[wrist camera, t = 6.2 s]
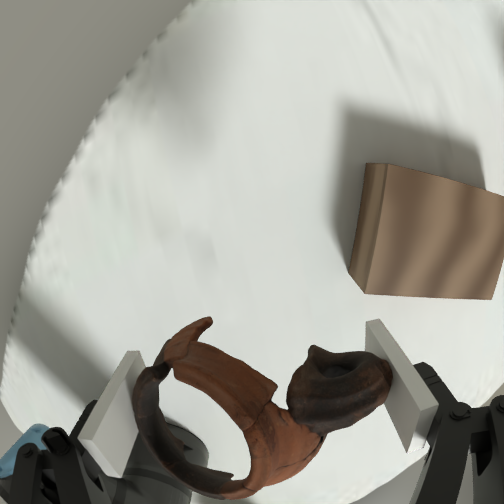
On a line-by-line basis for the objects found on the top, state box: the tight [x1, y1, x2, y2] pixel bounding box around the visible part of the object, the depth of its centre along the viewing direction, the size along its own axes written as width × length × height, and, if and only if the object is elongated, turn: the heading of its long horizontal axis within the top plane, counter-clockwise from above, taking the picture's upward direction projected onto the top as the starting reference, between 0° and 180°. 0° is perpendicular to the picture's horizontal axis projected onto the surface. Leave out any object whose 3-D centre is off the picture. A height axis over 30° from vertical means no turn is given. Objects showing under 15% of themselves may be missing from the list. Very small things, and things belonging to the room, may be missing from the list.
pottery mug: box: [132, 317, 393, 500], centre depth 13 cm, size 12×10×8 cm
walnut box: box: [348, 163, 504, 300], centre depth 28 cm, size 18×12×6 cm, turn 84°
